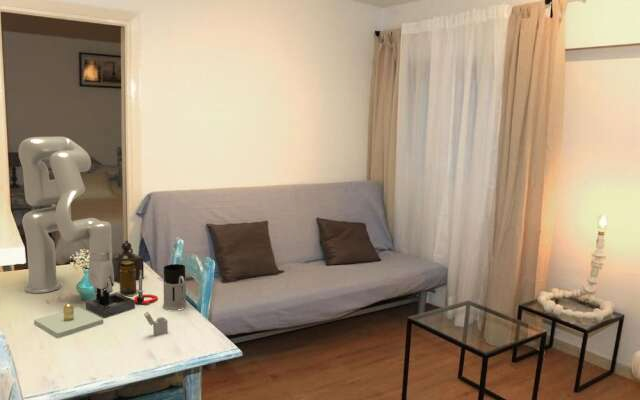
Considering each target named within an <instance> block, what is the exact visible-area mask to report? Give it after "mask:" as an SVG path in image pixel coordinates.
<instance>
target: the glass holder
mask: <svg viewBox="0 0 640 400" xmlns="http://www.w3.org/2000/svg"><path fill="white" fill-rule="evenodd" d="M186 281H187V278H186V266H185V265H184V264H177V263H175V264H174V263H173V264H166V265H164V266H163V305H162V309H163V310H165V311H168V310H178V309H182V308H185V307H186V306H187V307H188V304H187V282H186ZM187 307H186V308H187ZM186 308H185V309H186ZM182 310H183V309H182ZM178 311H179V310H178Z"/></svg>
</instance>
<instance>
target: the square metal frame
mask: <svg viewBox="0 0 640 400" xmlns="http://www.w3.org/2000/svg"><path fill="white" fill-rule="evenodd" d="M84 303H85V304H84V305H85V310H86V311H88V312H90V313H92V314H94V315H96V316H98V317H100V318H102V319H105V318H109V317H111V316H115V315H118V314H121V313H124V312H127V311H130V310H134V309H136V304H135V300H134V298H130V297H129V296H127V295H122V294H119V293H115V292H113V293H110V294H109V305H106V306H103V305H100V297H99V298H96V297H95V298H92V299H89V300H85V301H84Z"/></svg>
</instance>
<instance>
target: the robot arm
mask: <svg viewBox="0 0 640 400" xmlns="http://www.w3.org/2000/svg"><path fill="white" fill-rule="evenodd" d="M18 159H19V161H20V164H21V168H22V173H23V187H24V188H23V189H24V197H25V198H24V199H25V202H26V203H27V204H28V205H29V206H32V207H42V206H48V205H51V207H45V208H44V207H43V208H37V209H33V210H30V211H28V212H26V213H25V214H24V215H23V217H22V219H21V222H22V223H21V224H22V227H23V231H24V236H25V241H26V251H27V252H26V255H27V268H28V270H27V271H28V283H29V284H27V285H25V287H24V290H25V292H27V293H30V294H45V293H50V292H53V291H57V290H59V289H60V288H61V287H62V282H61V281H59V280H57V262H56V245H55V241H54V240H53V238H52V237H51V236H50V235H49V233H53V232H57V231H59V234H60V236H61V238H62V239H63V240H64V241H65V242H67V243H78V242H81V241H82V242H83V241H85V240H88V244H89V245H88V250H89V251H88V252H89V262H88V268H87V269H88V274H87V275H88V276H87V277H88V278H87V279H88V280H87V281H88V284H89V285H90V286H91V287H93V288H94V293H95V298H99V297H100V305H103V306H105V307H107V306H110V304H109V294H111V293H112V292H113V291H114V289H113V287H114V286H115V281H114V272H113V264H112V256H113V241H112V240H113V237H112V235H113V234H112V224H111V222H109V221H106V220H105V221H104V220H100V219H97V218H96V217H88V218H82V219H76V220H72V208H71V207H72V206H71V204H72V203H73V201H74V200H75V199H77V198H78V197H79V196H81V195H83V194H84V193H85V191H86V187H85V183H84V181H83V178H82V175H81V173H84V172H87V171H89V170H90V169H91V167H92V161H91V160H92V159H91V156H90V155H89V153H88V152H87V151H86V150H85V149H84V148H83V147H82V146H80V145H79V144H77V142H75V141H73V140H72V139H71V138H68V137H66V136H33V137H32V136H31V137H28V138H25V139H23V140H22V141H21V143H20V144H19V145H18ZM43 160H45V161H46V160H48V161H49V166H50V168H51V171H52V174H53V177H54V179H50V172H49V168H48V166H47V165H46V163H45V162H44V161H43Z"/></svg>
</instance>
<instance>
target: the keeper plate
mask: <svg viewBox="0 0 640 400" xmlns="http://www.w3.org/2000/svg"><path fill="white" fill-rule="evenodd" d="M73 311H74V320H72V321H64V314H63V311H60V312H56V313H52V314H49V315H46V316H43V317H38V318H35V319H33V323H34V325H35V326H37V327H39V328H40V329H42V330H43V331H45V332H47V333H49V334H50V335H52V336H53V337H55V338H57V339H60V338H63V337H65V336H69V335H72V334H74V333H78V332H81V331H84V330H87V329H91V328H94V327H96V326H99V325H103V324H104V318H103V317H101V316H99V315H97V314H95V313H93V312H91V311H89V310H87V309H83V308H82V307H79V306H77V307H75V308H74V307H73Z"/></svg>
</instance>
